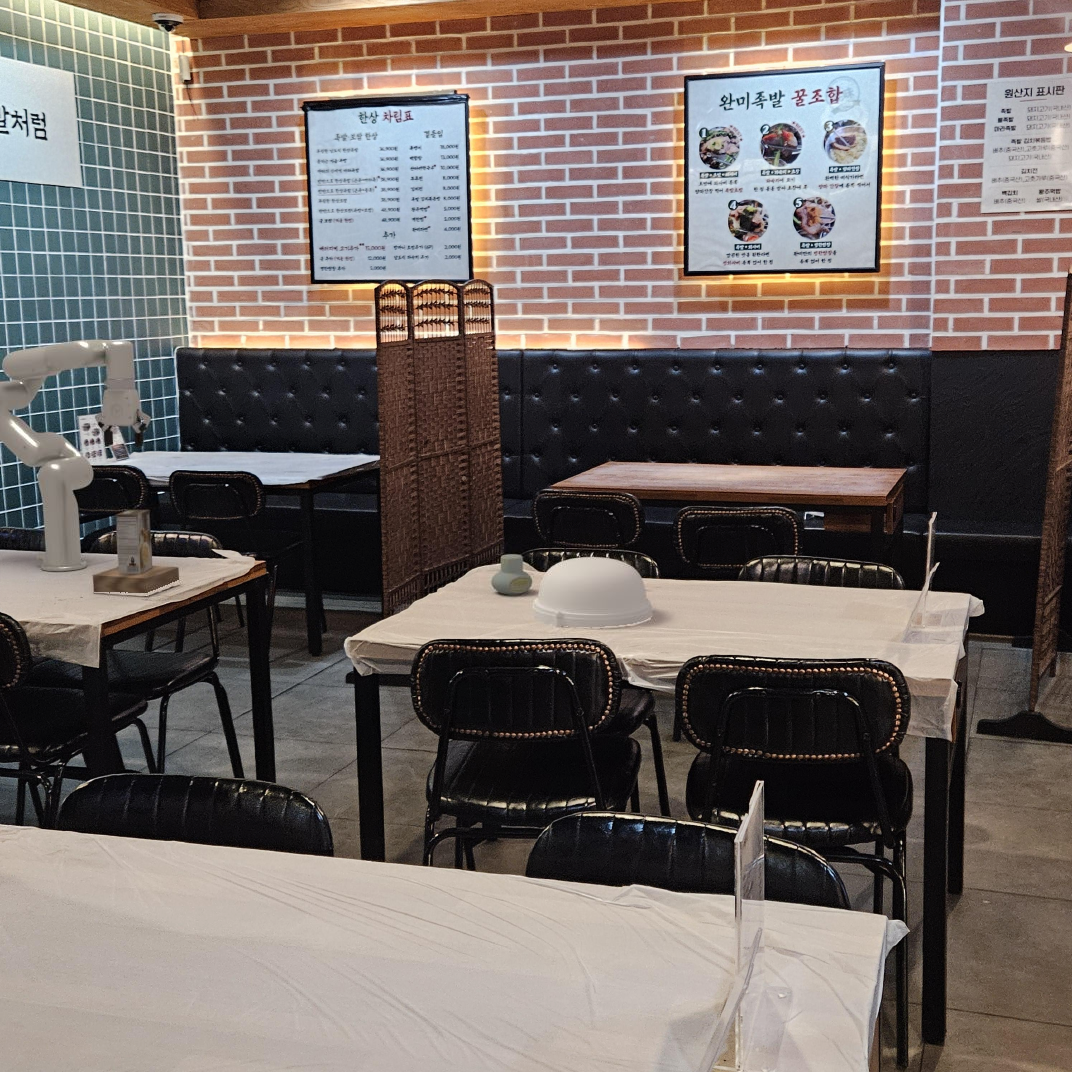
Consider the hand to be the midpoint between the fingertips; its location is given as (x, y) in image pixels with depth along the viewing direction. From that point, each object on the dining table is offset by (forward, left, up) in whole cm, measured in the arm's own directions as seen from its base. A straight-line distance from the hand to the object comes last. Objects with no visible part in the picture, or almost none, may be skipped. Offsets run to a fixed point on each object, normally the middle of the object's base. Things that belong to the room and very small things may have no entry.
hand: (124, 446), depth 373 cm
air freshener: (+113, +5, -37) cm, 119 cm away
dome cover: (+140, -14, -37) cm, 145 cm away
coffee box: (+15, -20, -32) cm, 40 cm away
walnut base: (+15, -20, -36) cm, 44 cm away
